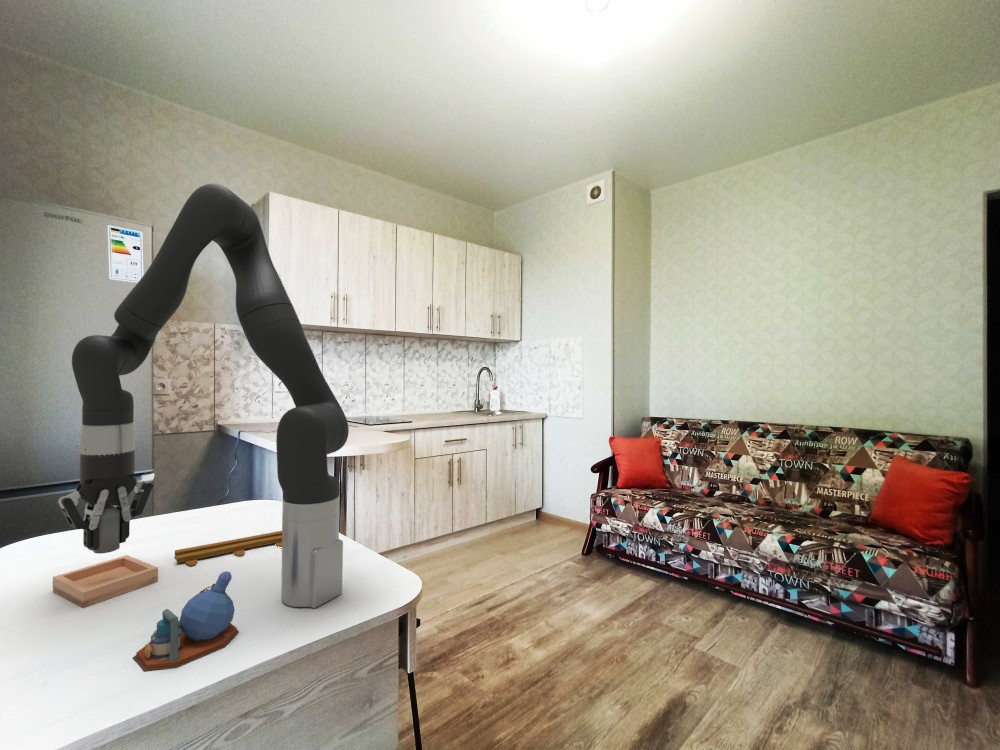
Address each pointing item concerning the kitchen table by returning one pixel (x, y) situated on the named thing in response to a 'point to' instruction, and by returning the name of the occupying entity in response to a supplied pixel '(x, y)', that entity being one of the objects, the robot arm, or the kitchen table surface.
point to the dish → (104, 580)
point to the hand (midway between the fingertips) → (107, 544)
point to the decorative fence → (226, 547)
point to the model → (191, 630)
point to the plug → (108, 530)
